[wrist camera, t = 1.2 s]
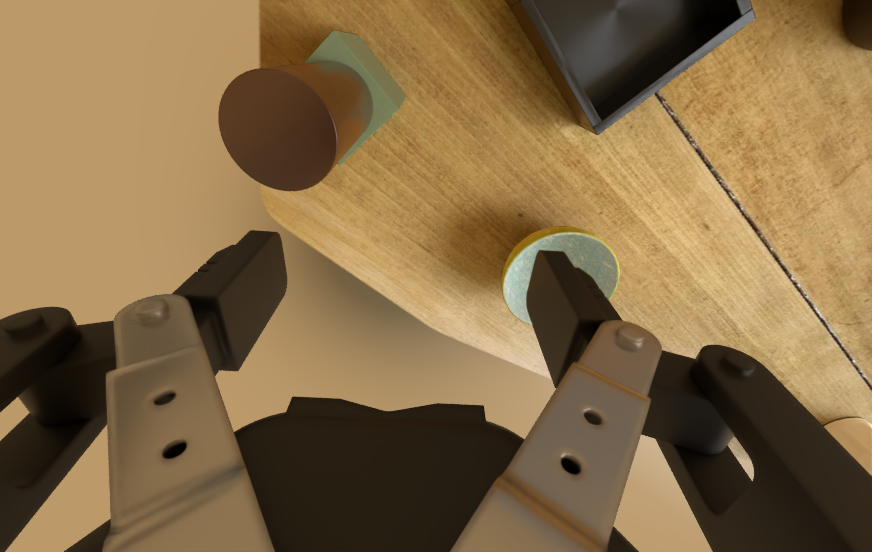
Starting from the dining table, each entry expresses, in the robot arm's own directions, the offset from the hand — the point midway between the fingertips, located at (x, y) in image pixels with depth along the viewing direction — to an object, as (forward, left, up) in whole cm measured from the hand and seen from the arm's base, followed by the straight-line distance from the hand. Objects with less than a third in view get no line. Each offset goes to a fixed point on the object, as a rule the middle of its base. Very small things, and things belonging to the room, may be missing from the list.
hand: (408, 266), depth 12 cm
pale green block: (-6, -3, -26) cm, 27 cm away
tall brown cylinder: (-6, -3, -18) cm, 19 cm away
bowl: (+19, +1, -27) cm, 33 cm away
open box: (+3, +17, -26) cm, 32 cm away
